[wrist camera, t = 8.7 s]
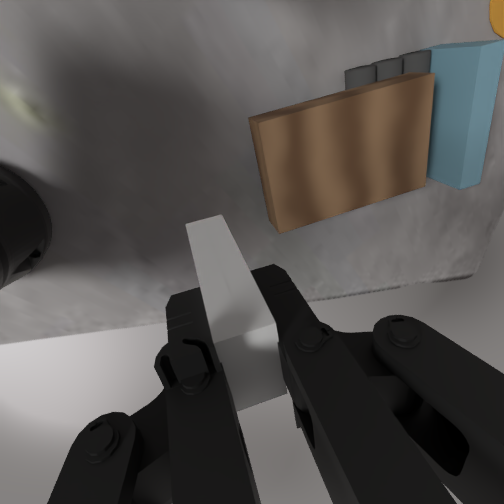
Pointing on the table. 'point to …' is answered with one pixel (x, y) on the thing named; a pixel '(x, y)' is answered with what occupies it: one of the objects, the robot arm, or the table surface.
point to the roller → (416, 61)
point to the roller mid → (388, 68)
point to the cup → (497, 16)
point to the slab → (344, 149)
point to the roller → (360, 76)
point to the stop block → (462, 109)
